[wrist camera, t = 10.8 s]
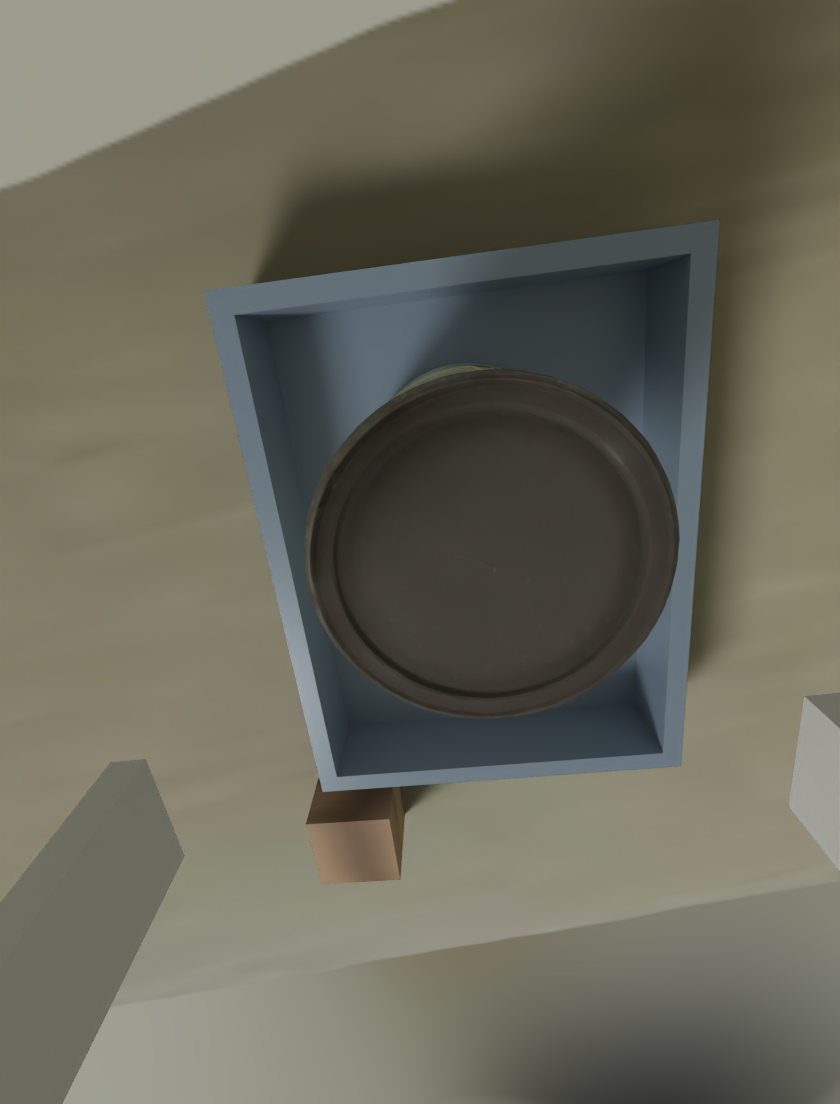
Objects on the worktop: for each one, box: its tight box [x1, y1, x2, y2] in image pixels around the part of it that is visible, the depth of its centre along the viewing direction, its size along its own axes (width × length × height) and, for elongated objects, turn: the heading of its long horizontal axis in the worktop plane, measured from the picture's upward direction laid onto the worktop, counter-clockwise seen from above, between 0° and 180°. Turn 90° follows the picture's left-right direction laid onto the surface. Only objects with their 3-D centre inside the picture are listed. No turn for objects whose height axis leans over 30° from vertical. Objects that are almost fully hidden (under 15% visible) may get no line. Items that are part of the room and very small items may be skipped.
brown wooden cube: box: [306, 779, 405, 884], centre depth 34 cm, size 5×5×5 cm
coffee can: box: [304, 363, 680, 719], centre depth 21 cm, size 10×10×14 cm
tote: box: [204, 220, 720, 792], centre depth 27 cm, size 20×26×5 cm
